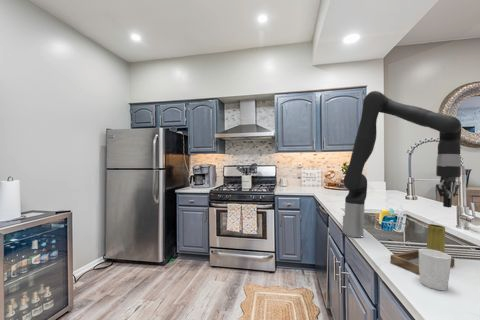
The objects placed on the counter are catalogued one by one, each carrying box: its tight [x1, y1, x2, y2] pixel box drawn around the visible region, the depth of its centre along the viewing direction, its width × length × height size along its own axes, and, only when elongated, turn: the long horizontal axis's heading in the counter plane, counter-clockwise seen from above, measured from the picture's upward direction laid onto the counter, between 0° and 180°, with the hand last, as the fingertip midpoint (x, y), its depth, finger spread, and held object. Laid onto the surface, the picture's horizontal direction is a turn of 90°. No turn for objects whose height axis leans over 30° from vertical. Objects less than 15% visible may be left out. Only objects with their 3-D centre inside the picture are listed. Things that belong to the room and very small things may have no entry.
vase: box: [425, 223, 446, 253], centre depth 91 cm, size 6×6×14 cm
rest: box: [389, 248, 456, 276], centre depth 87 cm, size 11×21×3 cm, turn 115°
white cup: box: [418, 248, 452, 291], centre depth 72 cm, size 8×8×10 cm
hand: (447, 207), depth 94 cm, fingers closed
